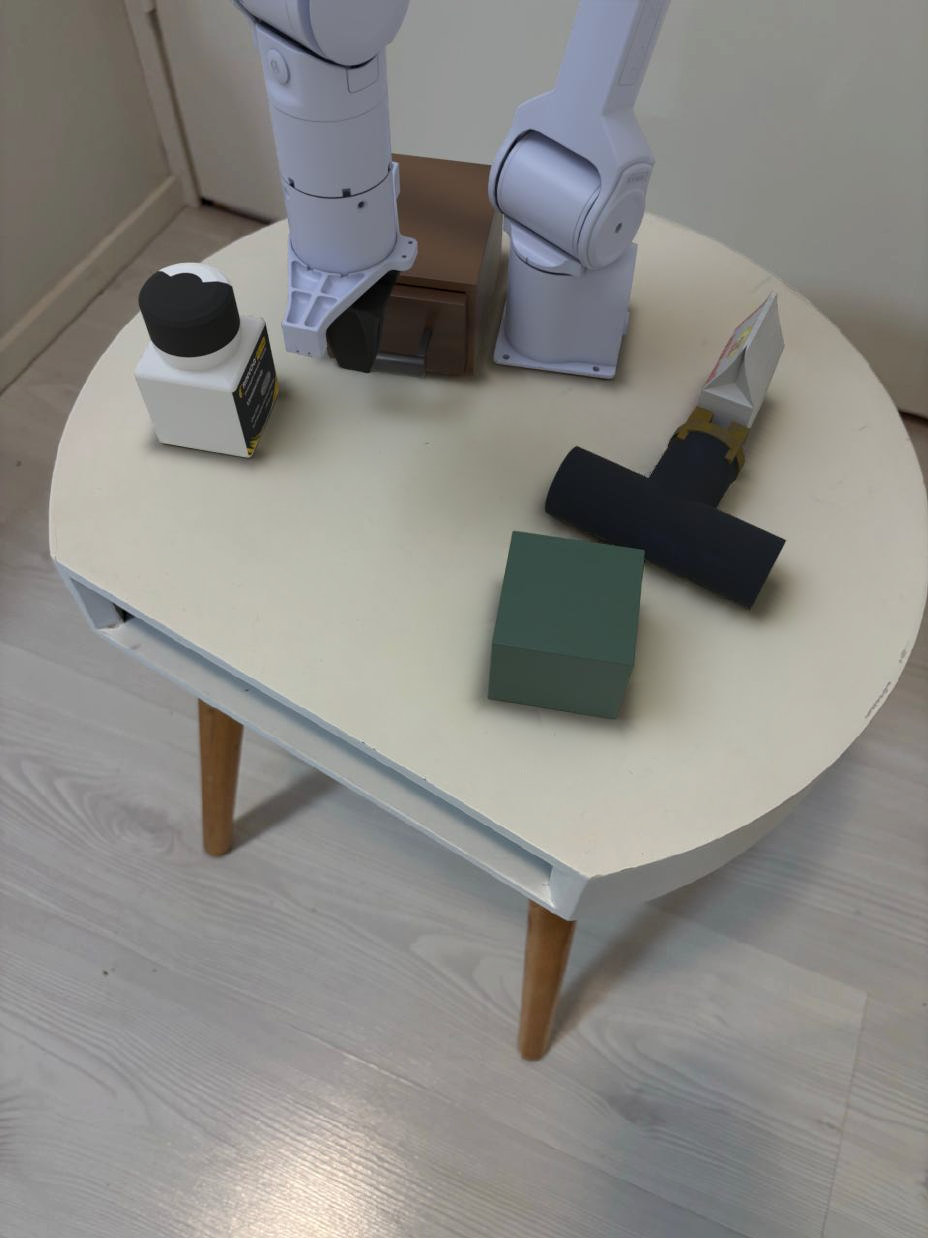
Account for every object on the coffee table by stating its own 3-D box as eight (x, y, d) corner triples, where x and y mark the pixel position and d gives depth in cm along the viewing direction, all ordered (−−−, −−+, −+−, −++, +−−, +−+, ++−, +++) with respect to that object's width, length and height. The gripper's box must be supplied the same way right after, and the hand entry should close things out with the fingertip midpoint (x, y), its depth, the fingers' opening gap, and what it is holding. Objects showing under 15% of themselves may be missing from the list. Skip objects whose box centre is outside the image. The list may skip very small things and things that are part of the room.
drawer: (453, 416, 71) (454, 346, 65) (316, 396, 72) (304, 325, 66) (489, 268, 79) (493, 194, 74) (366, 252, 80) (360, 177, 74)
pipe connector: (626, 368, 68) (830, 455, 64) (615, 420, 72) (805, 503, 68) (548, 480, 63) (764, 581, 59) (542, 528, 67) (742, 624, 63)
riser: (626, 610, 64) (645, 549, 58) (615, 719, 59) (633, 665, 53) (506, 592, 64) (512, 529, 58) (487, 698, 60) (491, 643, 54)
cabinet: (473, 375, 74) (476, 284, 67) (327, 354, 75) (314, 263, 68) (501, 259, 81) (506, 166, 74) (366, 242, 82) (358, 148, 75)
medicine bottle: (251, 460, 70) (218, 332, 59) (157, 444, 70) (108, 315, 60) (281, 389, 73) (254, 257, 63) (191, 374, 74) (150, 241, 64)
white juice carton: (761, 405, 73) (802, 299, 65) (731, 466, 70) (771, 363, 61) (715, 388, 74) (750, 282, 65) (684, 447, 71) (716, 344, 62)
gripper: (368, 269, 45) (384, 462, 56) (449, 95, 52) (449, 297, 64) (225, 243, 46) (270, 438, 57) (324, 75, 53) (347, 278, 64)
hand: (357, 362), depth 61 cm, fingers closed
